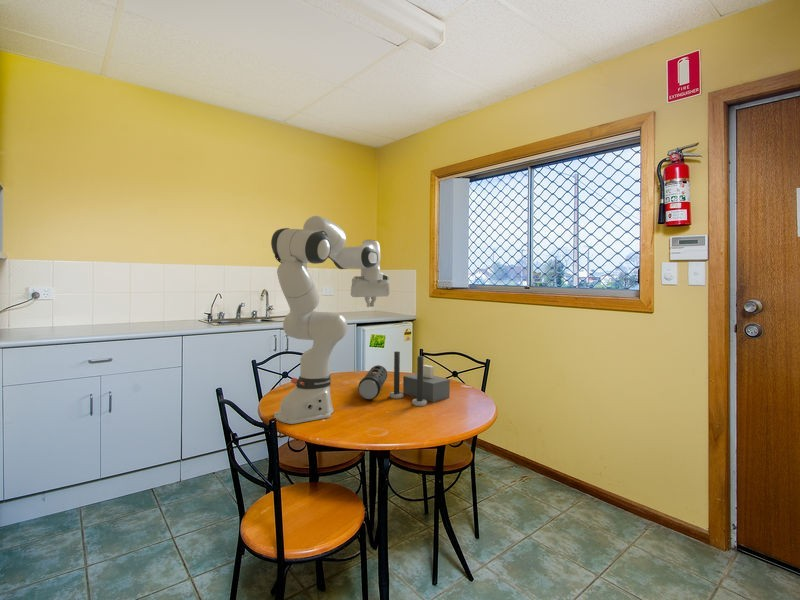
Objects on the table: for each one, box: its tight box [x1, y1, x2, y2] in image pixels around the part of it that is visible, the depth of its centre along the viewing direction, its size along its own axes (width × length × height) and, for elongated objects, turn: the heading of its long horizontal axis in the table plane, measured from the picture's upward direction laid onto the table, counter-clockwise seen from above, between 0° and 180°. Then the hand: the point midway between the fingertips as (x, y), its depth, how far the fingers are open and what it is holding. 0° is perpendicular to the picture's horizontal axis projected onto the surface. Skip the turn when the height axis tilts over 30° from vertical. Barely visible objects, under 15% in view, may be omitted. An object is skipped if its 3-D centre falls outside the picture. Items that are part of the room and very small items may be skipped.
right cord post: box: [411, 355, 428, 407], centre depth 173 cm, size 6×6×20 cm
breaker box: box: [402, 372, 451, 403], centre depth 186 cm, size 11×18×8 cm, turn 44°
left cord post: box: [389, 351, 404, 400], centre depth 183 cm, size 6×6×20 cm
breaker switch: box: [423, 364, 435, 378], centre depth 186 cm, size 2×5×5 cm, turn 44°
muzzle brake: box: [357, 364, 388, 400], centre depth 188 cm, size 10×28×10 cm, turn 174°
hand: (370, 306), depth 188 cm, fingers closed
